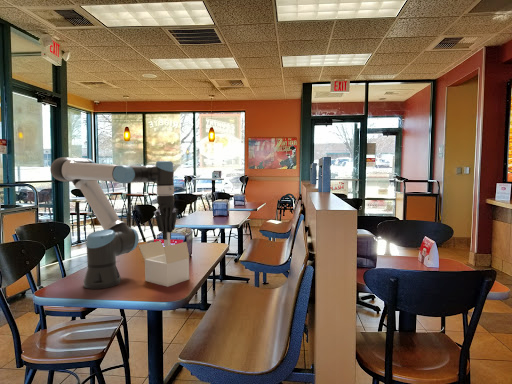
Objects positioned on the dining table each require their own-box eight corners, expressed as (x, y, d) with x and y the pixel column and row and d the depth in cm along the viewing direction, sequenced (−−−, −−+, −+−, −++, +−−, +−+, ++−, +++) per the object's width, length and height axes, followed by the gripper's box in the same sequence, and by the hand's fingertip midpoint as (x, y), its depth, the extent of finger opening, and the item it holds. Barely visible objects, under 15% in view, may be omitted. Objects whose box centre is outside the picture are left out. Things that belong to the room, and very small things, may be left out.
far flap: (138, 245, 164) (137, 245, 165) (145, 259, 162) (144, 259, 162) (160, 240, 175) (159, 241, 175) (166, 253, 173) (166, 254, 173)
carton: (167, 286, 154) (166, 263, 154) (145, 280, 163) (144, 259, 162) (189, 279, 165) (188, 257, 164) (167, 274, 173) (166, 253, 173)
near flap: (167, 263, 154) (168, 263, 153) (163, 246, 154) (164, 246, 154) (188, 257, 164) (189, 257, 164) (185, 241, 165) (186, 241, 164)
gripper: (159, 196, 154) (161, 249, 155) (182, 194, 165) (183, 244, 166) (148, 195, 158) (150, 248, 160) (171, 194, 169) (172, 243, 170)
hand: (167, 246), depth 163 cm, fingers closed
